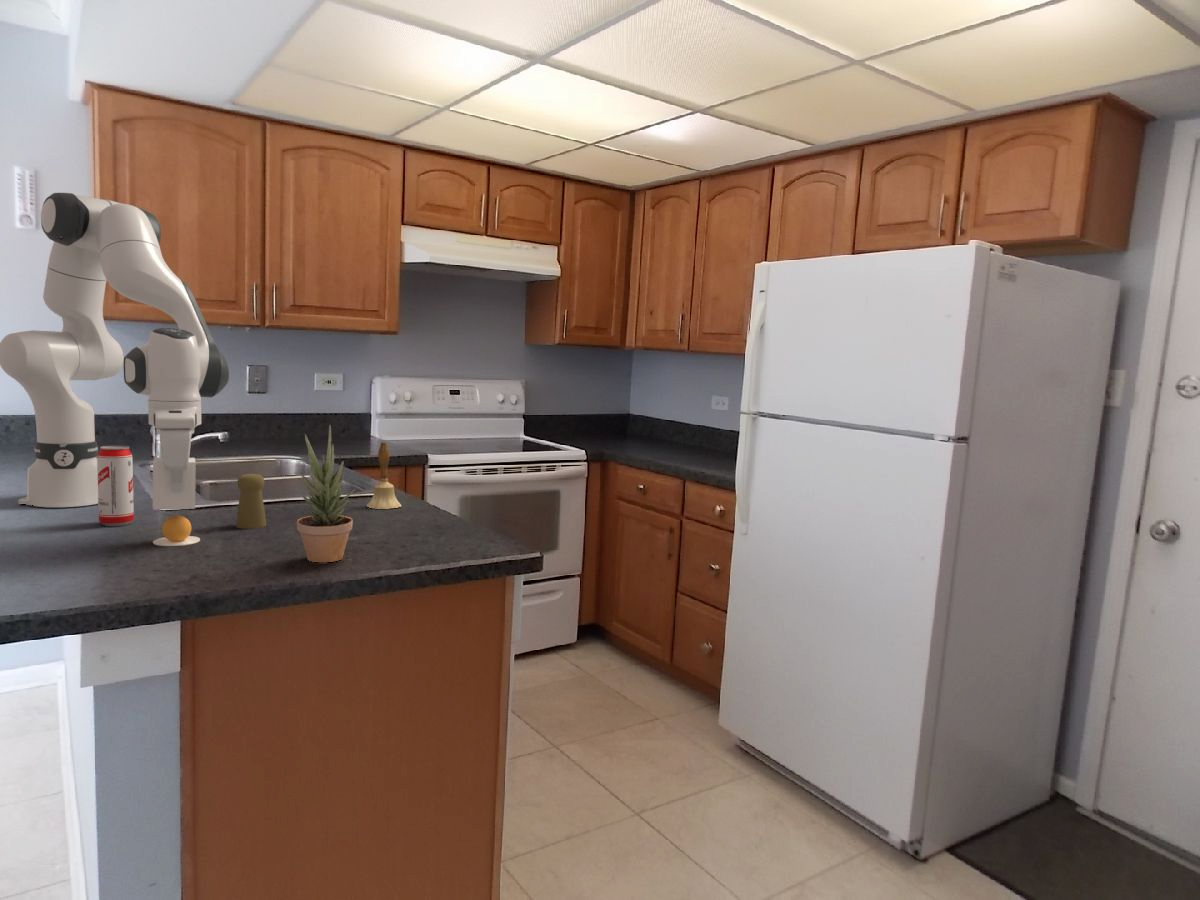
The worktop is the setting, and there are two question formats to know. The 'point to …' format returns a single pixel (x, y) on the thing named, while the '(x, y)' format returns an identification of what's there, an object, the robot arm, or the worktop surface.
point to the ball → (176, 528)
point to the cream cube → (162, 487)
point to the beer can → (115, 486)
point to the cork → (251, 502)
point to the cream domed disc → (167, 542)
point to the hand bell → (384, 484)
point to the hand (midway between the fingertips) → (176, 488)
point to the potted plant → (324, 510)
